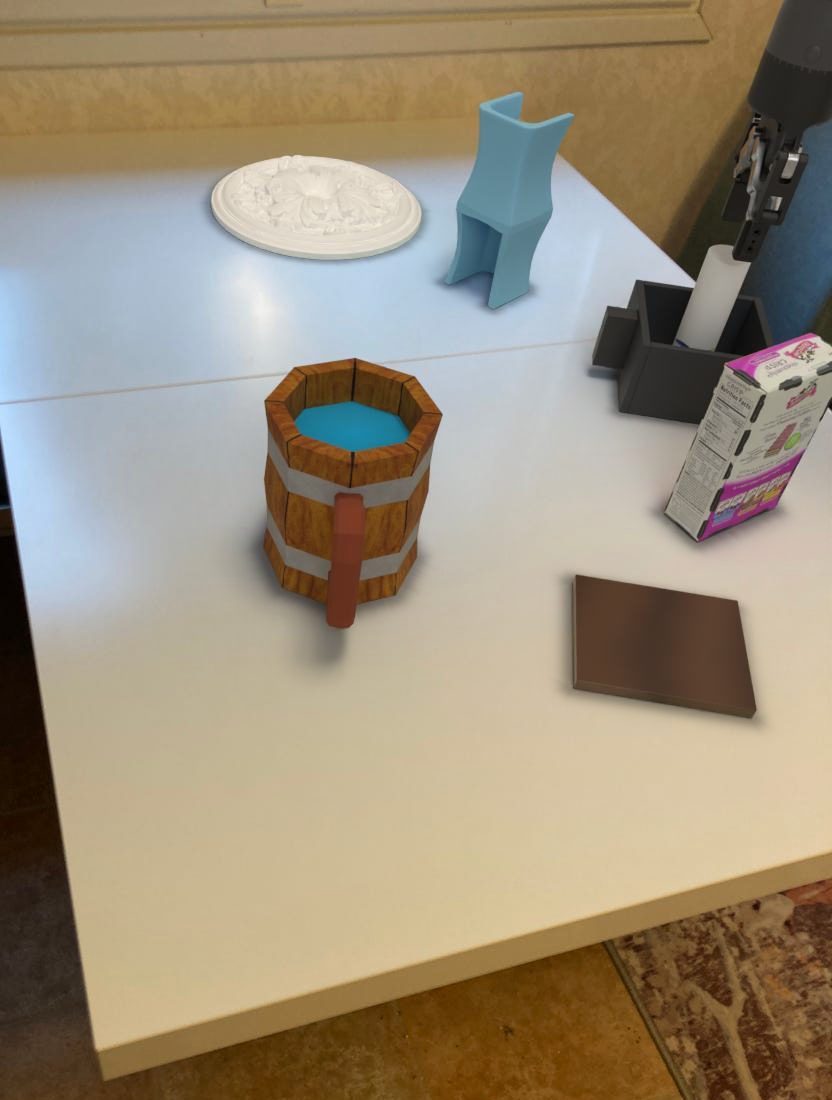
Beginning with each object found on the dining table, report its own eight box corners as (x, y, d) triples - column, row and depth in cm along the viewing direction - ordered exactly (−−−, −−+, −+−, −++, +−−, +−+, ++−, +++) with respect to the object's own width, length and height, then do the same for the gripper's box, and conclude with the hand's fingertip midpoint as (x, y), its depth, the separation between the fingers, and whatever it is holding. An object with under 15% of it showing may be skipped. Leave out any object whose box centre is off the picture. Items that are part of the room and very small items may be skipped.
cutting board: (733, 608, 80) (738, 600, 80) (752, 718, 72) (757, 710, 72) (572, 582, 81) (575, 574, 80) (573, 688, 73) (576, 680, 72)
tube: (697, 379, 104) (750, 249, 93) (698, 400, 101) (753, 268, 90) (659, 371, 104) (707, 241, 93) (658, 392, 102) (708, 260, 90)
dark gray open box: (732, 362, 107) (760, 297, 101) (747, 431, 98) (780, 365, 92) (587, 340, 108) (607, 274, 102) (589, 407, 99) (611, 339, 93)
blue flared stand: (533, 289, 115) (575, 114, 100) (493, 309, 111) (530, 130, 96) (485, 264, 118) (518, 91, 103) (444, 282, 114) (473, 105, 99)
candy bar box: (738, 478, 93) (812, 329, 80) (776, 508, 90) (859, 358, 78) (658, 512, 88) (723, 359, 76) (696, 544, 86) (770, 391, 73)
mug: (268, 496, 85) (270, 350, 74) (414, 506, 86) (438, 364, 75) (249, 660, 72) (248, 515, 61) (421, 671, 73) (452, 529, 62)
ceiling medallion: (273, 148, 136) (274, 125, 134) (450, 197, 130) (454, 174, 128) (170, 221, 119) (168, 195, 116) (369, 281, 113) (371, 256, 110)
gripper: (875, 86, 73) (786, 280, 86) (840, 31, 83) (764, 213, 95) (780, 73, 74) (705, 268, 86) (756, 19, 83) (691, 202, 95)
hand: (736, 239), depth 90 cm, fingers open, 8 cm apart
